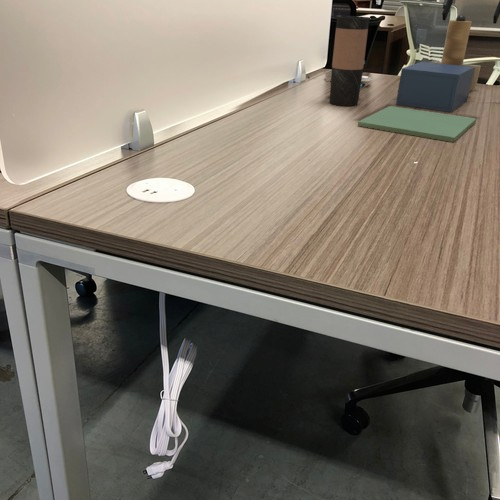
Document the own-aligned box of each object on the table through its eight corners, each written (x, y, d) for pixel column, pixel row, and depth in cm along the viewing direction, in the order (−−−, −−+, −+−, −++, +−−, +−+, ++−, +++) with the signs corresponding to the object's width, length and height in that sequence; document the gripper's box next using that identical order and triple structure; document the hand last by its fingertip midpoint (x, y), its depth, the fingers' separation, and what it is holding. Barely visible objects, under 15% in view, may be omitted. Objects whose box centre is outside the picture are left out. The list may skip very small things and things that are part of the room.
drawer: (434, 83, 153) (439, 59, 150) (478, 89, 147) (483, 64, 144) (414, 93, 138) (419, 66, 135) (462, 99, 132) (468, 72, 129)
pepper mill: (459, 87, 142) (475, 15, 133) (454, 90, 138) (470, 15, 129) (439, 85, 144) (453, 13, 136) (434, 87, 140) (448, 14, 132)
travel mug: (364, 105, 127) (376, 18, 117) (338, 107, 124) (347, 17, 115) (348, 99, 133) (358, 16, 123) (323, 101, 130) (331, 15, 121)
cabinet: (415, 94, 141) (421, 61, 137) (466, 101, 135) (474, 66, 131) (395, 104, 129) (401, 68, 125) (451, 112, 122) (459, 74, 118)
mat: (475, 123, 113) (476, 118, 113) (453, 142, 98) (454, 137, 98) (389, 110, 123) (389, 106, 122) (357, 126, 108) (357, 121, 107)
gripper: (539, -30, 142) (516, 31, 137) (448, -31, 153) (424, 25, 149) (542, -53, 135) (518, 10, 131) (447, -53, 147) (422, 5, 143)
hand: (468, 18), depth 140 cm, fingers open, 13 cm apart
